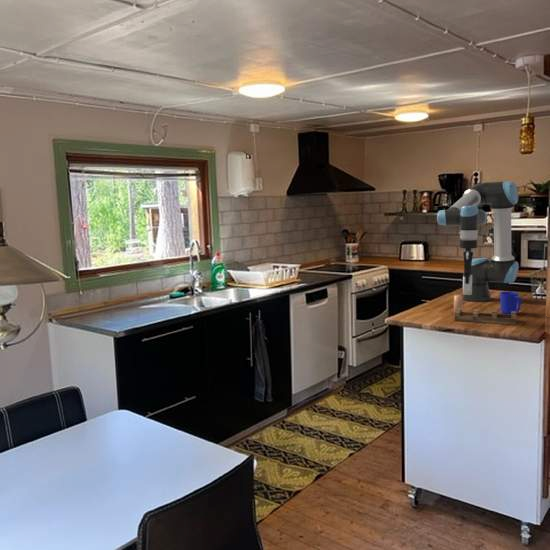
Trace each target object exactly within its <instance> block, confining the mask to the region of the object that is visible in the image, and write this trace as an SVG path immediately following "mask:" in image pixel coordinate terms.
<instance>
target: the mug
mask: <svg viewBox="0 0 550 550" xmlns="http://www.w3.org/2000/svg"><path fill="white" fill-rule="evenodd" d="M499 297H500V299H499V300H500V312H501V314H511V311H515V312H516V313H517V312H519V311H520V309H521V306H522V305H521V304H522V297H521V296H519V293H518V292H517V291H516V292H514V291H501V292H500V293H499Z"/></svg>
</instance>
